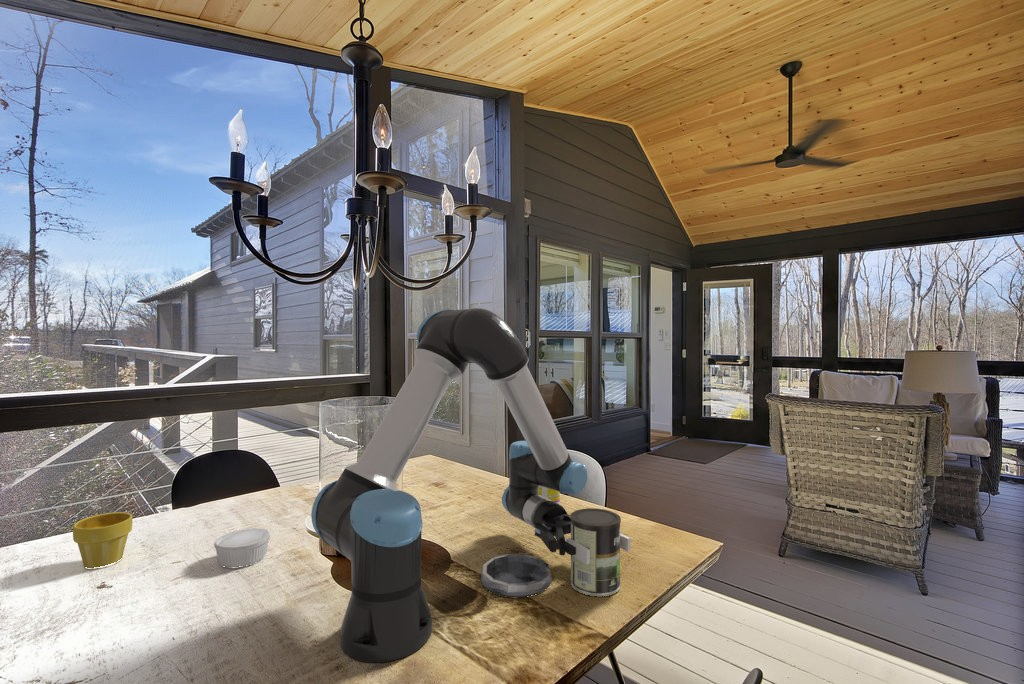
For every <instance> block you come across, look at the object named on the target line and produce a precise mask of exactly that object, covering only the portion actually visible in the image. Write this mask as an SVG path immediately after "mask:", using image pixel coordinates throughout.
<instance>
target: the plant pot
mask: <svg viewBox="0 0 1024 684" xmlns="http://www.w3.org/2000/svg"><path fill="white" fill-rule="evenodd" d="M132 529H133V514H132V513H129V512H123V511H115V512H106V513H101V514H94V515H92V516H89V517H86V518H85V517H84V518H83V519H80V520H78V521H76V523H74V524H73V526H72V539H73V542H74V543H76V544H77V546H78V549H79V553H80V557H81V561H82V564H83V567H84V566H85V567H87V568H94V567H100V566H105V565H108V564H111V563H114V562H117V561H118V560H120V559H121V558H122V559H123V555H124V551H125V548H126V544H127V540H128V536H129V533H130V532H131V531H132ZM122 559H121V560H122Z"/></svg>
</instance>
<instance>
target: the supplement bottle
mask: <svg viewBox="0 0 1024 684" xmlns="http://www.w3.org/2000/svg"><path fill="white" fill-rule="evenodd" d="M538 494H539V495H541V496H543V497H545V498H547V499H549V500H552V501H553V502H555V503H557V504H559V505H560V504H561V503H560V502H561V496H560V495H561V492H558V491H555V490H552V489H549V488H546V487H543V486H540V485H539V486H538Z"/></svg>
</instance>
